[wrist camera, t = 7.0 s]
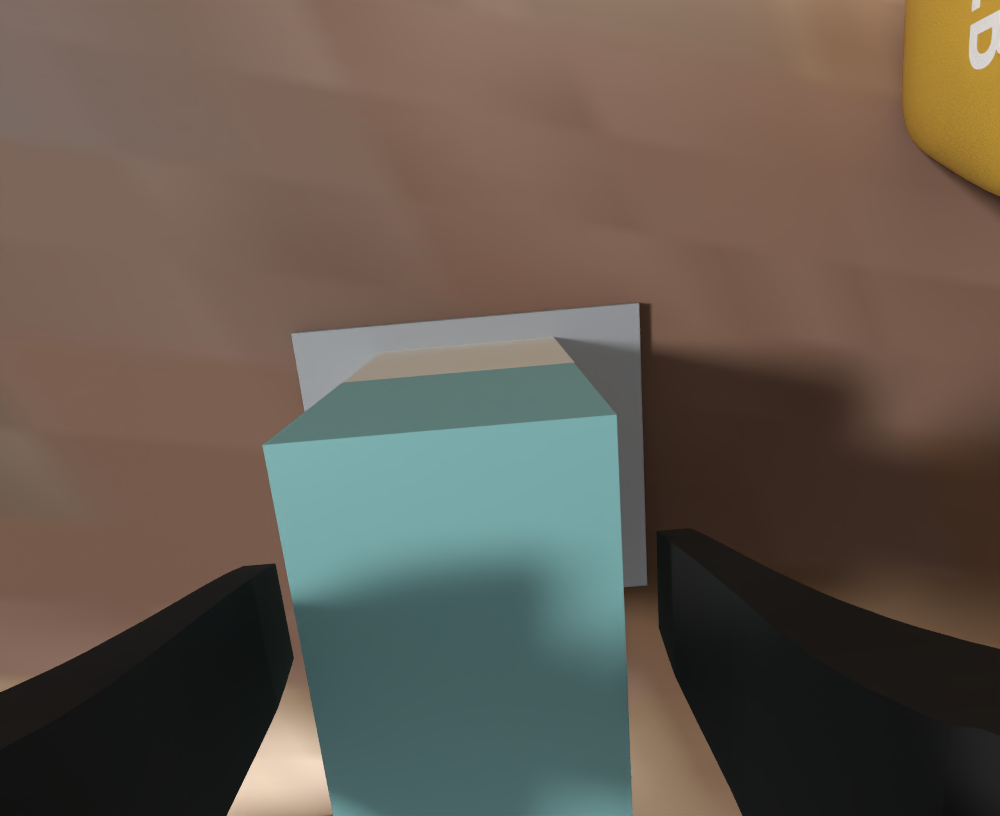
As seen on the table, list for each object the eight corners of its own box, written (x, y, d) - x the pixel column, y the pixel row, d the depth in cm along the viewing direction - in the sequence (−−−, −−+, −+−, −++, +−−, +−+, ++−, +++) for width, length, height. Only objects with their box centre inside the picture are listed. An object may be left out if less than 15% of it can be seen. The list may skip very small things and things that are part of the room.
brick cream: (568, 570, 19) (591, 663, 14) (412, 583, 19) (388, 680, 14) (553, 337, 17) (574, 361, 13) (381, 352, 17) (342, 382, 13)
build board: (644, 578, 19) (647, 585, 19) (341, 604, 19) (338, 611, 19) (635, 302, 17) (639, 302, 17) (296, 332, 17) (291, 333, 17)
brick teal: (590, 664, 14) (633, 838, 10) (387, 680, 14) (341, 862, 10) (573, 362, 13) (616, 414, 8) (342, 382, 13) (263, 444, 8)
